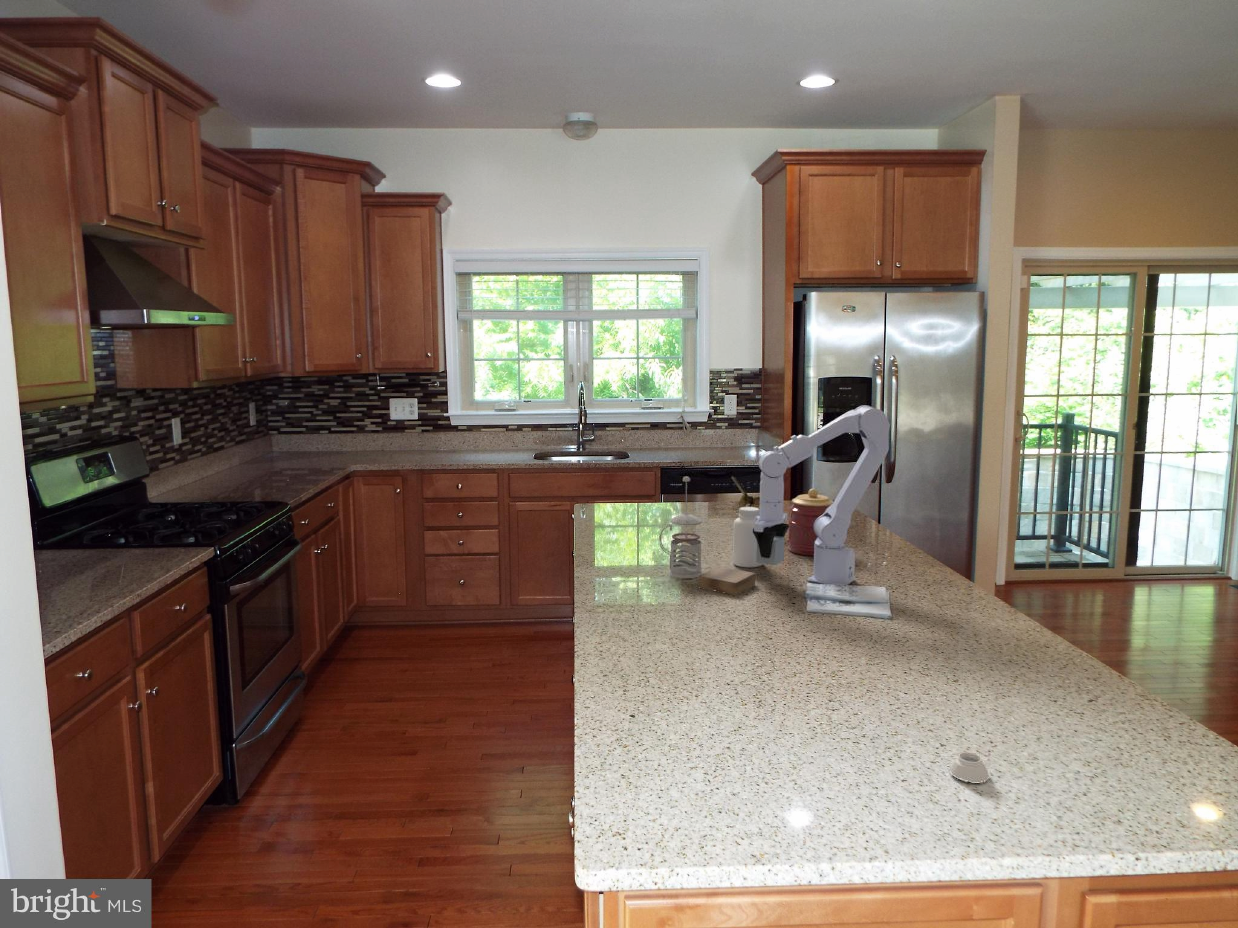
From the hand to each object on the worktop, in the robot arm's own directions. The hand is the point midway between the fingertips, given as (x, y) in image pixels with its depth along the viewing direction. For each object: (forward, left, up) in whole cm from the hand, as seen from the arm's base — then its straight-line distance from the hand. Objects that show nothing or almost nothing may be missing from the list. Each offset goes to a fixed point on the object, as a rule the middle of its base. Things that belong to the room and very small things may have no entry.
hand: (770, 554), depth 212 cm
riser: (+6, +11, -6) cm, 14 cm away
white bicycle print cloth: (-22, +6, -7) cm, 24 cm away
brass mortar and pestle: (+25, -41, -7) cm, 49 cm away
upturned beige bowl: (-64, +71, -7) cm, 96 cm away
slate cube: (0, 0, -2) cm, 2 cm away
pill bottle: (+11, -10, -7) cm, 16 cm away
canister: (+3, -33, -7) cm, 34 cm away
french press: (+21, +7, -7) cm, 23 cm away
